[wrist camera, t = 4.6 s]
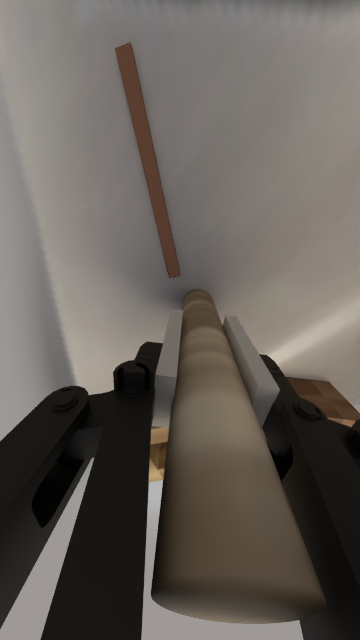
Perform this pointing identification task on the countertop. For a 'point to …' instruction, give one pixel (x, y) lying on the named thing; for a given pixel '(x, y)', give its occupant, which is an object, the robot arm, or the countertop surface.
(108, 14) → the countertop surface
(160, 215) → the brown wooden stick
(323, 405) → the bead dark
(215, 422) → the beige wooden dowel
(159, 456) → the light wooden square frame
